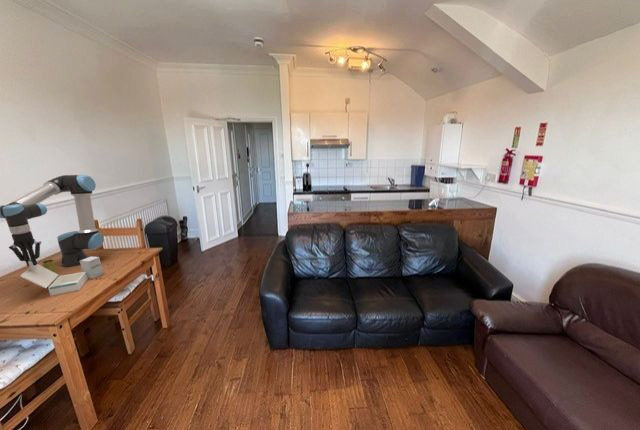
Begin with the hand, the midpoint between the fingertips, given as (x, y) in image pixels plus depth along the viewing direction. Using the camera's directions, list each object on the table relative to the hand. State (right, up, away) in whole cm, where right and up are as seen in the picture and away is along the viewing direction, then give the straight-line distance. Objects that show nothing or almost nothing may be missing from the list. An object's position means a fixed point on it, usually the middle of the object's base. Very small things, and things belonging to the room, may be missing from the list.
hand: (34, 270), depth 153 cm
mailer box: (+12, -12, +9) cm, 19 cm away
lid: (+3, -2, +2) cm, 4 cm away
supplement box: (+15, -9, +23) cm, 29 cm away
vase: (-5, -11, +16) cm, 20 cm away
